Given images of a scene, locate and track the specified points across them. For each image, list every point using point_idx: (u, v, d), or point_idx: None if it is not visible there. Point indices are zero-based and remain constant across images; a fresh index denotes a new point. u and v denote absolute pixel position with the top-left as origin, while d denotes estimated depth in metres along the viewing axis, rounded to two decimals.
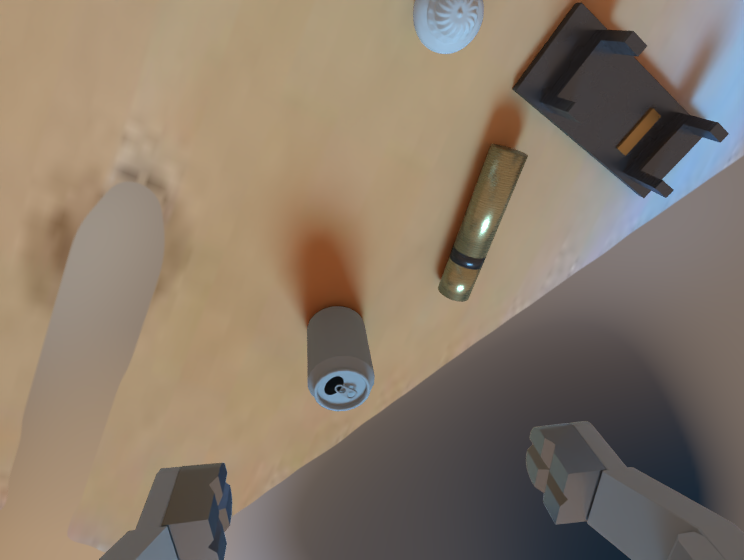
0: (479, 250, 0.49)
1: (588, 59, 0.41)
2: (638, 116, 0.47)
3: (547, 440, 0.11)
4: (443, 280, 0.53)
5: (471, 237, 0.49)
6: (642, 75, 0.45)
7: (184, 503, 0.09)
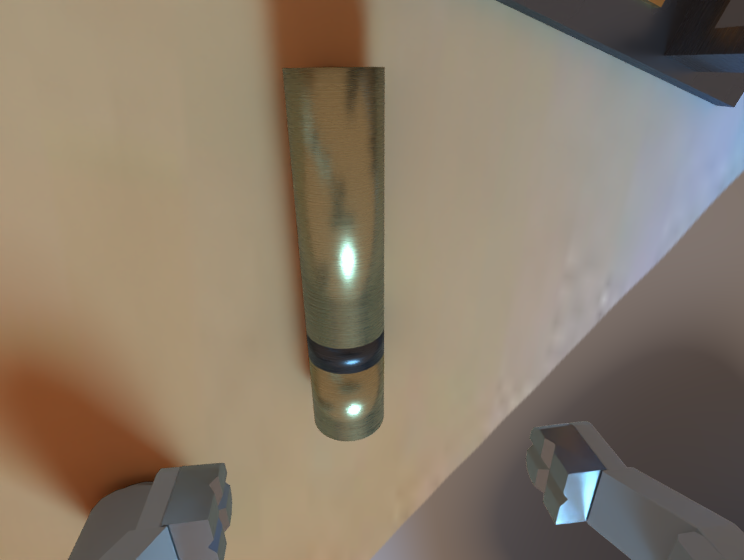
0: (350, 330, 0.20)
1: None
2: None
3: (547, 440, 0.11)
4: None
5: (320, 305, 0.20)
6: None
7: (184, 503, 0.09)
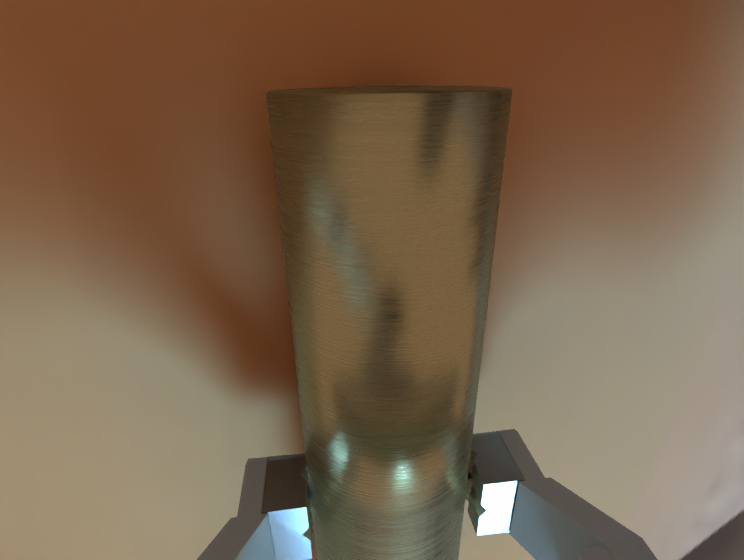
0: None
1: None
2: None
3: None
4: None
5: (345, 559, 0.10)
6: None
7: (279, 491, 0.10)
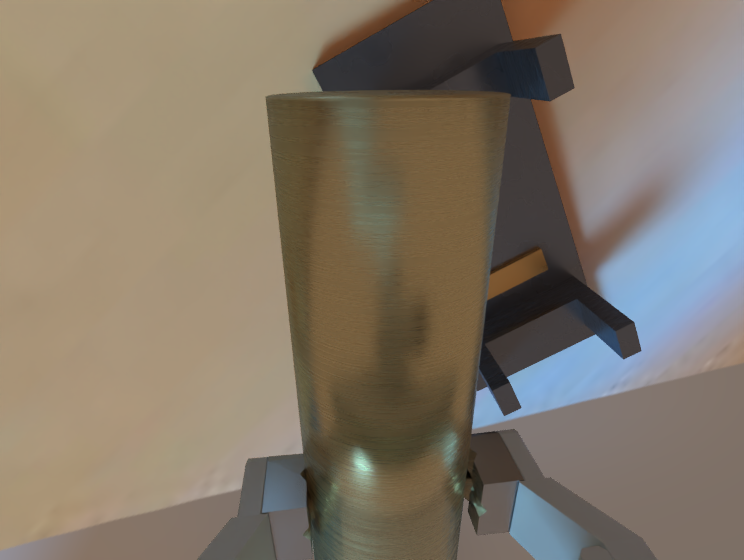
0: None
1: (462, 77, 0.19)
2: (514, 249, 0.25)
3: (469, 449, 0.11)
4: None
5: None
6: (544, 182, 0.24)
7: (279, 491, 0.10)
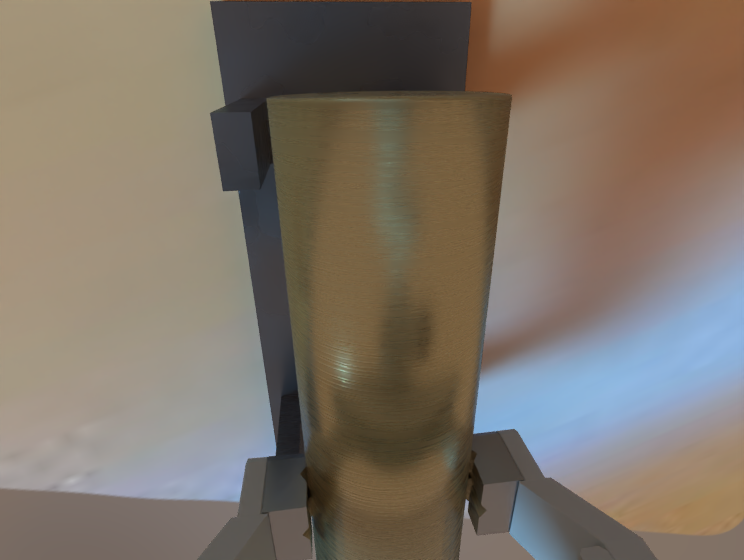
0: None
1: None
2: None
3: None
4: None
5: None
6: None
7: (279, 491, 0.10)
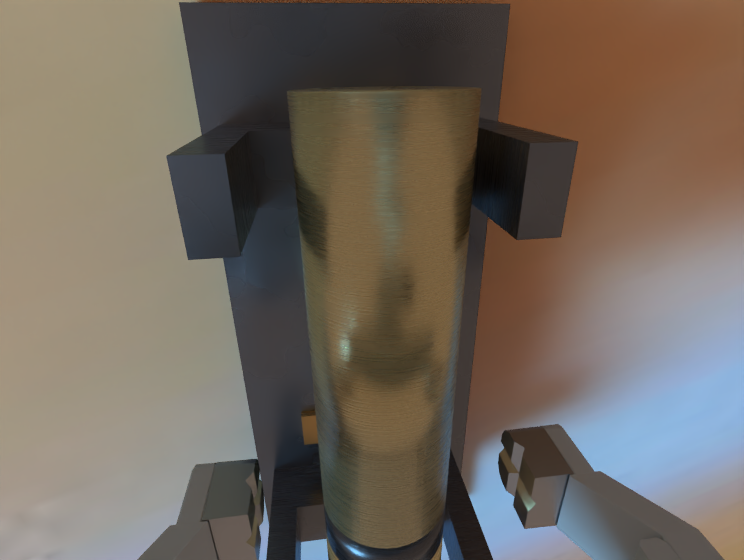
0: (409, 521, 0.12)
1: None
2: None
3: (516, 444, 0.11)
4: None
5: (358, 490, 0.12)
6: (462, 323, 0.17)
7: (222, 498, 0.10)
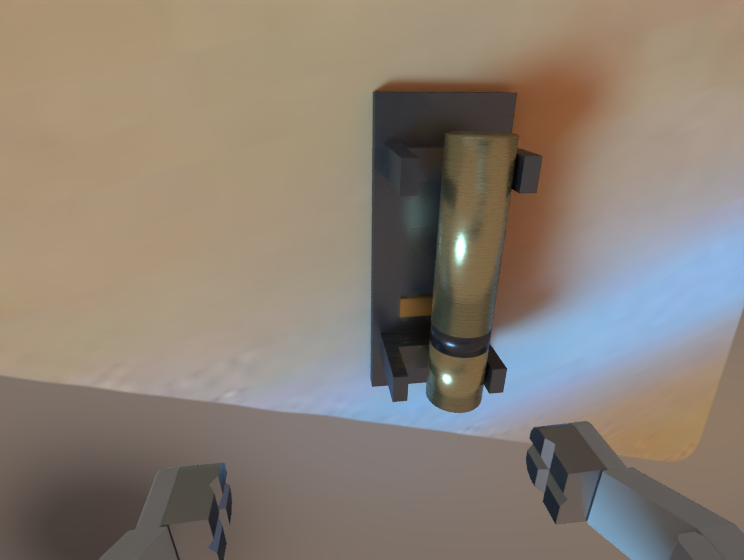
0: (486, 321, 0.27)
1: None
2: None
3: (547, 440, 0.11)
4: (438, 387, 0.30)
5: (469, 306, 0.26)
6: None
7: (184, 503, 0.09)
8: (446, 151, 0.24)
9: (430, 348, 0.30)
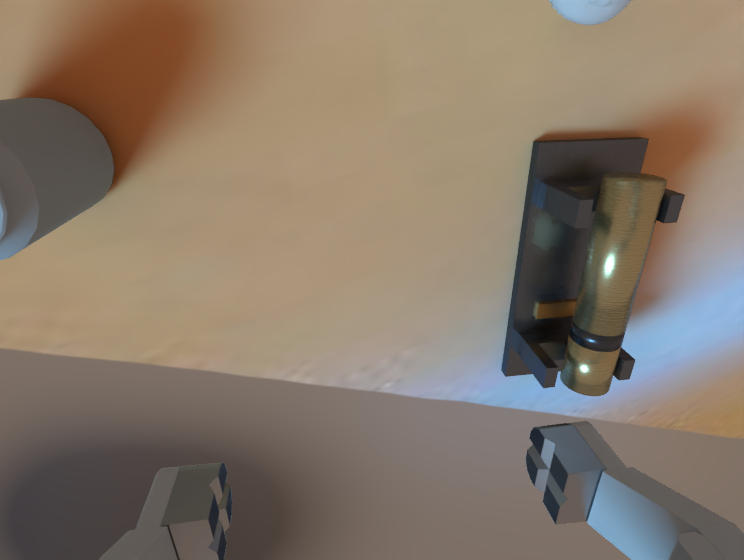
0: (626, 322, 0.34)
1: None
2: (576, 294, 0.39)
3: (547, 440, 0.11)
4: (578, 375, 0.37)
5: (615, 311, 0.33)
6: None
7: (184, 503, 0.09)
8: (607, 192, 0.31)
9: (571, 344, 0.37)
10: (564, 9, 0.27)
